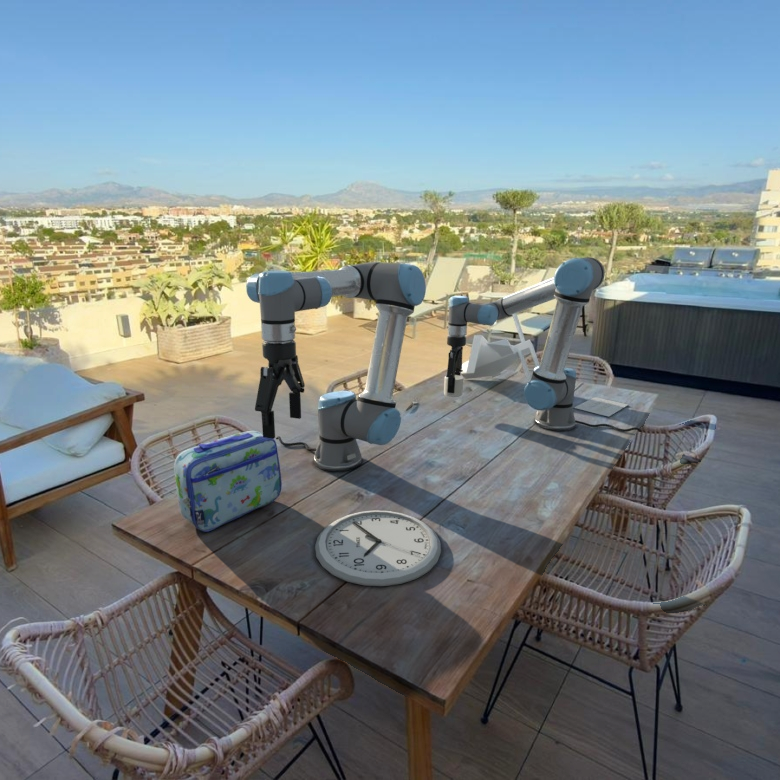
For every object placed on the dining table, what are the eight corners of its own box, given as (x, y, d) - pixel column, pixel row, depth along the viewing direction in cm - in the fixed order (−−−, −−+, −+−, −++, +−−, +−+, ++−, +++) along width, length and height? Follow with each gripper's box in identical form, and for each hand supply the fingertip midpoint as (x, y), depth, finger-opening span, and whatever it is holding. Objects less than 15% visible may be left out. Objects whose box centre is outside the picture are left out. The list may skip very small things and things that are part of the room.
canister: (466, 395, 214) (467, 378, 212) (450, 397, 211) (451, 380, 209) (455, 390, 221) (456, 373, 219) (440, 392, 218) (441, 375, 216)
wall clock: (452, 576, 112) (311, 582, 109) (452, 583, 112) (311, 589, 109) (430, 505, 140) (317, 508, 138) (430, 510, 141) (318, 514, 138)
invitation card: (608, 416, 214) (573, 407, 224) (608, 416, 214) (573, 408, 224) (628, 404, 229) (594, 396, 238) (628, 405, 229) (594, 397, 238)
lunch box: (194, 540, 125) (185, 461, 119) (175, 522, 133) (166, 447, 126) (286, 503, 143) (282, 432, 137) (265, 489, 150) (261, 421, 144)
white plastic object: (480, 421, 262) (459, 398, 238) (462, 347, 285) (440, 320, 260) (552, 397, 250) (537, 370, 226) (527, 322, 272) (511, 290, 248)
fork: (403, 411, 216) (403, 406, 215) (414, 400, 230) (414, 395, 230) (409, 412, 215) (409, 407, 215) (420, 400, 229) (420, 396, 229)
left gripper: (266, 353, 107) (271, 449, 113) (316, 331, 130) (318, 412, 136) (234, 350, 109) (241, 444, 115) (289, 329, 132) (292, 409, 138)
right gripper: (454, 330, 219) (451, 382, 226) (440, 339, 201) (437, 395, 208) (471, 331, 216) (468, 384, 223) (459, 341, 198) (456, 398, 205)
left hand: (283, 427), depth 126 cm, fingers open, 13 cm apart
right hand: (453, 389), depth 215 cm, fingers closed on canister, 8 cm apart
